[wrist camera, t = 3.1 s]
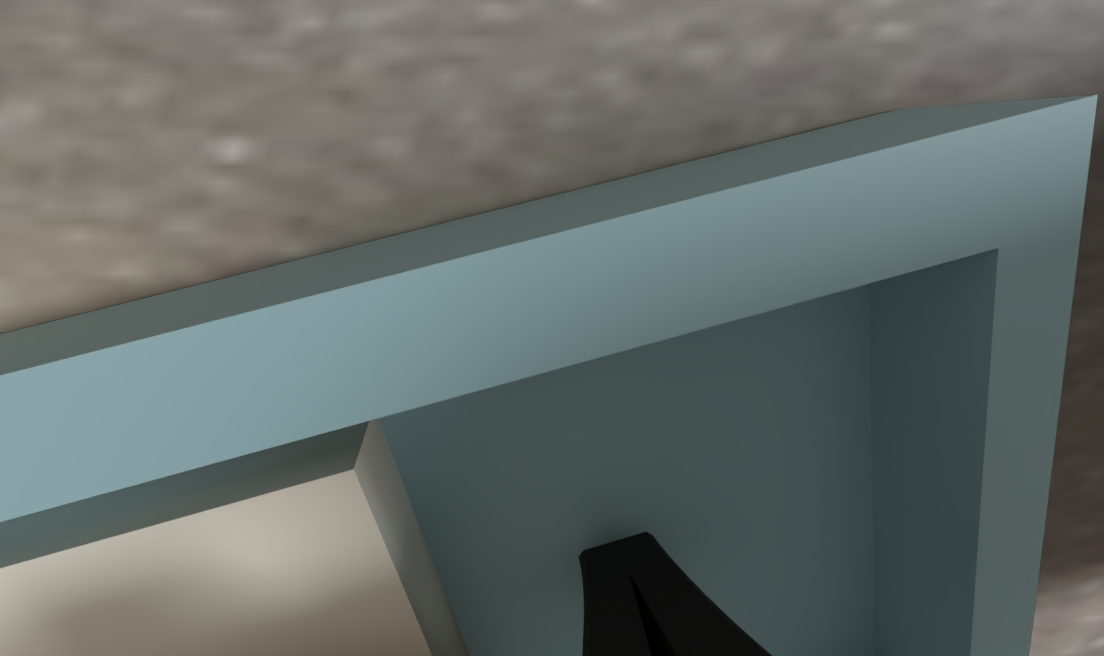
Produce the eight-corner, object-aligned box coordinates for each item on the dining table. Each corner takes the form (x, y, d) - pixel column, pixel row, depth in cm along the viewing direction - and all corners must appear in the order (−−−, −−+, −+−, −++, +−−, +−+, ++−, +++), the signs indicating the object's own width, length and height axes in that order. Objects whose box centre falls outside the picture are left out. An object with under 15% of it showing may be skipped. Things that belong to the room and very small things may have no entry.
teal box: (897, 109, 10) (1097, 94, 7) (897, 666, 14) (1011, 803, 11) (-340, 419, 8) (-811, 582, 5) (124, 921, 13) (23, 1155, 10)
